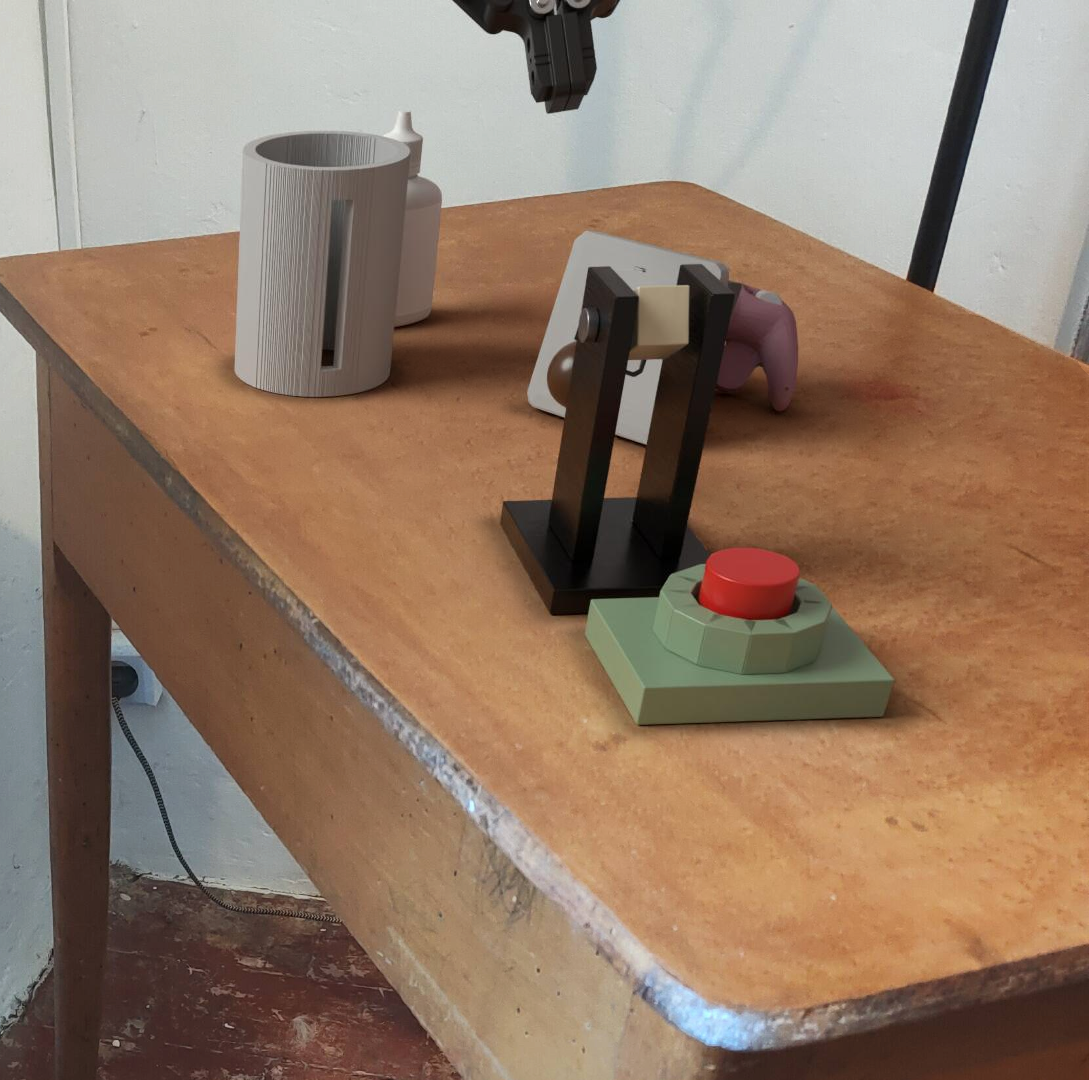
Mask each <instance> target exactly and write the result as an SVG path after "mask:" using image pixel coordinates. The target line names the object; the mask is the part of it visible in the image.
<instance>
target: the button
mask: <svg viewBox="0 0 1089 1080" xmlns="http://www.w3.org/2000/svg"><path fill="white" fill-rule="evenodd" d="M710 555H711V556H710V557H709V558H708V559H707V562H706V566H705V571H704V575H703V580H702V584H701V589H700V594H699V604H700V605H701V606H703V607H705V608H707V609H709V610H711V611H713V612H715V613H717V614H719V615H724V616H730V617H735V618H740V619H745V620H778V619H780V618H783V617H786V616H788V615H789V613H790V611H791V608H792V604H793V600H794V596H795V592H796V588H797V584H798V580H799V578H800V576H801V570H800V567H799V565H798V564H797V563H796V562H795V561H794V560H792V559H791V558H789V557H787V556H785V555H783V554H780V553H778V552H774V551H771V550H766V549H762V548H753V547H731V548H725V549H724V548H723V549H721V550H718V551H715V552H714V553H712V554H710Z"/></svg>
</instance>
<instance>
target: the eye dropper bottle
mask: <svg viewBox="0 0 1089 1080" xmlns="http://www.w3.org/2000/svg"><path fill="white" fill-rule="evenodd" d="M412 121H413V120H412V111H411V110H410V109H400V110H398V112H397V116H396V121H395V124H394V127H393V129H392V130H391V131H389V132H387V133H385V134H383V135H382V136H383V137H388V138H391V139H395V140H397V141H400V142H402V143H404V144H405V145H407V146H408V147H409V148H410V151H411V153H410V164H409V174H408V185H407V196H406V207H405V217H404V228H403V239H402V250H401V260H400V271H399V282H398V292H397V303H396V314H395V325H394V328H397V327H403V326H407V325H411V324H415V323H417V322H420V321H422V320H424V319H427V318H428V317H429V315H430V314H431V312H432V307H433V298H434V297H433V296H434V287H435V277H436V268H437V259H438V250H439V249H438V248H439V239H440V228H441V220H442V219H441V218H442V217H441V216H442V206H443V205H442V204H443V194H442V191H441V189H440V187H439V186H438V184H437V183H435V182H434V181H432V180H431V179H428V178H426V177H422V176H420V175H418V174H420V172H421V163H422V154H423V143H424V137H423V136H422V135H421V134H419V133H418V132H416V131H415V130H414V128H413V122H412Z"/></svg>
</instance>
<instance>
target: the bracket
mask: <svg viewBox="0 0 1089 1080" xmlns="http://www.w3.org/2000/svg"><path fill="white" fill-rule="evenodd" d="M677 285H689V287H690V291H689V343H688V345H686V346H684V347H683V348H681V349H680V350H678V351H677V352H675V353H674V354H672V355H671V356H669V357H668V358H666V359H663V360H662V365H661V370H660V376H659V381H658V386H657V391H656V397H655V402H654V407H653V413H652V418H651V423H650V429H649V434H648V439H647V445H645V449H644V450H645V451H644V455H643V456H644V457H643V461H642V467H641V472H640V477H639V482H638V488H637V492H636V496H629V497H626V496H625V497H605V494H606V489H607V482H608V478H609V472H610V466H611V460H612V454H613V449H614V444H615V438H616V435H615V432H616V427H617V421H618V415H619V410H620V404H621V398H622V393H623V387H624V381H625V375H626V370H627V364H628V358H629V353H630V347H631V341H632V336H633V330H634V324H635V319H636V313H637V307H638V302H639V296H638V295H637V294H636V293H635V292H634V291H633V290H632V289H631V288H630V287H629V286H628V285H627V284H626V283H625V281H624V280H623V279H622V278H621V277H620V276H619V275H618V274H617V273H616V272H615V271H614V270H613V269H612V268H611V267H610V266H604V267H589V268H588V272H587V278H586V284H585V291H584V297H583V304H582V310H581V314H580V318H579V325H578V335H577V342H576V348H575V355H574V361H573V367H572V374H571V380H570V387H569V393H568V399H567V406H566V412H565V417H564V420H563V426H562V432H561V438H560V444H559V445H560V446H559V450H558V458H557V466H556V470H555V476H554V483H553V488H552V489H553V490H552V495H551V496H552V497H551V499H530V500H529V499H527V500H503V501H502V505H501V515H500V521H499V525H500V526H501V528H502V530H503V532H504V533H505V535H506V538H507V540H508V541H509V543H510V544H511V546H512V549H513V550H514V552H515V554H516V556H517V558H518V559H519V561H520V563H521V564H522V566H523V568H524V570H525V572H526V573H527V575H528V577H529V579H530V581H531V582H532V584H533V586H534V588H535V590H536V592H537V593H538V595H539V598H540V600H541V601H542V602H543V604H544V606H545V608H546V610H547V611H548V613H549V615H577V614H581V615H582V614H588V613H589V607H590V602H591V600H592V599H618V598H650V597H659V595H660V591H661V589H662V588H663V586H664V584H665V583H666V581H667V579H668V578H669V576H670V575H671V574H673V573H676V572H679V571H682V570H685V569H688V568H691V567H694V566H697V565H700V564H706V562H707V559H708V558H709V557H710V556H711V555H712V554H711V553H710V552H709V550H708V549H707V548H706V546H705V545H704V544H703V543H702V541H701V540H700V539H699V538H698V536H697V535H696V534H695V532H694V531H693V529H691V526H689V524H688V523H689V518H690V514H691V509H692V505H693V500H694V493H695V489H696V485H697V480H698V476H699V471H700V465H701V461H702V456H703V451H704V447H705V441H706V437H707V432H708V427H709V422H710V417H711V412H712V409H713V403H714V399H715V395H716V394H715V393H716V390H717V389H716V384H717V379H718V375H719V370H720V365H721V360H722V356H723V351H724V346H725V344H726V336H727V332H728V327H729V322H730V317H731V312H732V308H733V303H734V298H735V294H734V293H733V292H732V291H731V290H730V289H729V288H728V287H727V286H726V285H724V284H723V283H722V282H721V281H720V280H719V279H718V278H717V277H716V276H715V275H713V274H712V273H711V272H710V271H709V270H708V269H707V268H706V267H705V266H704V265H702V264H682V265H680V269H679V274H678V280H677ZM677 285H676V286H677Z"/></svg>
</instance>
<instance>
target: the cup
mask: <svg viewBox="0 0 1089 1080" xmlns="http://www.w3.org/2000/svg"><path fill="white" fill-rule="evenodd" d="M383 136H384V135H378V134H372V133H366V132H357V131H347V130H346V131H345V130H302V131H291V132H290V131H289V132H283V133H275V134H271V135H266V136H261V137H259V138H256V139H255V138H254V139H253V140H251V141H249V142H247V143H246V144H244V146H243V147H242V160H241V161H242V162H241V163H242V164H241V165H242V166H241V185H240V187H241V189H240V193H241V194H240V212H239V213H240V216H239V217H240V218H239V237H238V239H239V240H238V241H239V242H238V243H239V244H238V265H237V267H238V269H237V292H236V293H237V296H236V316H235V317H236V321H235V342H234V343H235V346H234V373H235V375H236V376H237V377H238V378H239V380H241V381H242V382H243V383H244V384H247V385H249V386H251V387H253V388H256V389H258V390H262V391H265V392H270V393H273V394H280V395H285V396H292V397H305V398H307V397H310V398H314V397H316V398H323V397H324V398H326V397H327V398H328V397H340V396H346V395H347V396H348V395H353V394H357V393H362V392H366V391H369V390H372V389H375V388H377V387H378V386H380V385H382V384H384V382H386V381H388V379H389V376H390V375H391V367H392V356H393V346H394V345H393V344H394V334H395V327H394V325H395V314H396V303H397V292H398V282H399V271H400V260H401V250H402V239H403V228H404V217H405V207H406V196H407V185H408V174H409V164H410V153H411V151H410V148H409V147H408V146H407V145H405V144H404V143H402V142H400V141H397V140H395V139H391V138H388V137H383ZM323 350H328V351H334V353H333V365H322V358H323V357H322V356H323Z"/></svg>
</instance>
